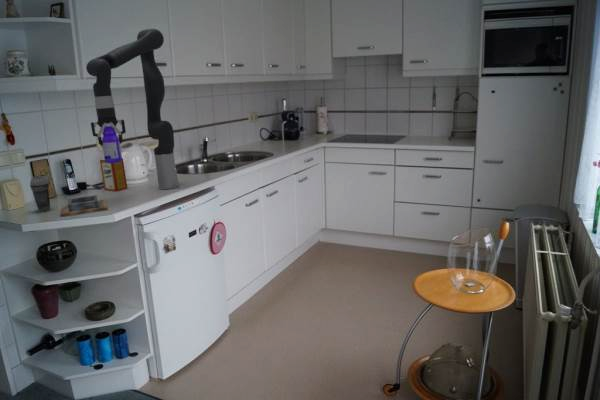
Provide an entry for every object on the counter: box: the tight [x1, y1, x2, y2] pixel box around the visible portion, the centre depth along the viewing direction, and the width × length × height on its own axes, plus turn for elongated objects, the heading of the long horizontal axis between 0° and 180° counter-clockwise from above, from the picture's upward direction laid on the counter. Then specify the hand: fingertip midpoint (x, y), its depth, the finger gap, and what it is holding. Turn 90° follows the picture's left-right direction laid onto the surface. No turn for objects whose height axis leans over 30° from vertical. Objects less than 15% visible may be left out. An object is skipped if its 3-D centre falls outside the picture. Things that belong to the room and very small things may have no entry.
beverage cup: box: [29, 165, 51, 213], centre depth 206 cm, size 7×7×20 cm
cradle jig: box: [59, 194, 108, 218], centre depth 206 cm, size 18×16×4 cm
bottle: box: [101, 123, 123, 163], centre depth 212 cm, size 7×6×17 cm
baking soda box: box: [99, 157, 128, 192], centre depth 242 cm, size 10×6×16 cm
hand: (111, 144), depth 212 cm, fingers closed on bottle, 7 cm apart
